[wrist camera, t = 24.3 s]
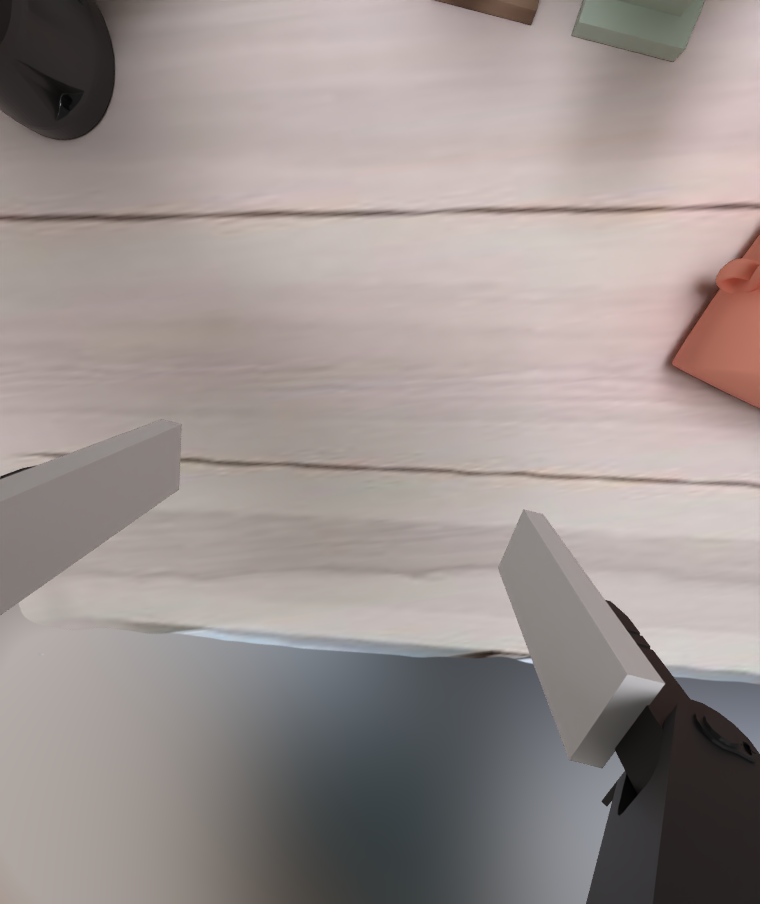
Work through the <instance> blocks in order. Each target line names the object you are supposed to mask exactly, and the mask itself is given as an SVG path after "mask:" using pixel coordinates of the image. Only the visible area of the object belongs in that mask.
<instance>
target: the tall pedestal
mask: <svg viewBox="0 0 760 904" xmlns="http://www.w3.org/2000/svg"><path fill="white" fill-rule="evenodd" d="M437 1H441V2H444V3H448V4H452V5H456V6H460V7H464V8H468V9H471V10H475V11H479V12H483V13H487V14H491V15H495V16H498V17H502V18H506V19H510V20H514V21H518V22H522V23H525V24H529V25H531V24H532V21H533V18H534V16H535V13H536V10H537V7H538V3H539V0H437Z"/></svg>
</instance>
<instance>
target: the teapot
mask: <svg viewBox="0 0 760 904" xmlns="http://www.w3.org/2000/svg"><path fill="white" fill-rule="evenodd" d="M716 284H717V286H718V287H719V288H720V289H719V291H718V292H717V293H716V295H715V296H714V298H713V299H712V301H711V302H710V304H709V305H708V307H707V308H706V310H705V311H704V313H703V314H702V316H701V317H700V319H699V320H698V322H697V323H696V325H695V326H694V328H693V329H692V331H691V332H690V334H689V335H688V337H687V338H686V340H685V342H684V343H683V345H682V346H681V348H680V349H679V351H678V353H677V354H676V356H675V358H674V360H673V362H672V365H674V366H675V367H677V368H679V369H681V370H683V371H684V372H686V373H688V374H690V375H692V376H694V377H696V378H698V379H700V380H702V381H704V382H706V383H708V384H710V385H712V386H714V387H716V388H718V389H720V390H722V391H724V392H726V393H728V394H730V395H732V396H735V397H737V398H739V399H741V400H743V401H745V402H747V403H749V404H751V405H753V406H756V407H758V408H760V235H759V236H758V237H757V239H756V240H755V241H754V243H753V244H752V245H751V247H750V248H749V249H748V251H747V252H746V253H745V255H744V256H743V257H742V259H735V260H732V261H730V262H729V263H727V264H726V265H725V266H724V267H723V268H722V269H721V270H720V271H719V273H718V275H717V278H716Z"/></svg>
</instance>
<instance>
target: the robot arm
mask: <svg viewBox="0 0 760 904" xmlns="http://www.w3.org/2000/svg"><path fill="white" fill-rule="evenodd" d="M113 80H114V60H113V51H112V46H111V41H110V37H109V33H108V30H107V27H106V24H105V22H104V19H103V17H102V15H101V13H100V10H99V8H98V7H97V5H96V3H95V1H94V0H0V110H2V111H3V112H4V113H6V114H7V115H8V116H10V117H11V118H13V119H14V120H16V121H17V122H19V123H21V124H23V125H24V126H26V127H28V128H30V129H32V130H33V131H35V132H37V133H39V134H41V135H44V136H46V137H50V138H54V139H71V138H75V137H78V136H81V135H83V134H85V133H86V132H88V131H89V130H91V129H92V128H93V127H94V126H95V125H96V124H97V123H98V121H99V120H100V119H101V117H102V116H103V114H104V112H105V110H106V108H107V106H108V103H109V100H110V97H111V93H112V88H113ZM181 426H182V424H178V423H174V422H170V421H166V420H162V419H161V420H158V421H156V422H153V423H150V424H148V425H145V426H142V427H140V428H137V429H134V430H132V431H129V432H126V433H123V434H121V435H118V436H115V437H113V438H110V439H107V440H105V441H102V442H99V443H97V444H94V445H91V446H89V447H86V448H83V449H80V450H78V451H75V452H72V453H70V454H67V455H64V456H62V457H59V458H56V459H54V460H51V461H48V462H46V463H43V464H40V465H37V466H32V467H27V468H22V469H19V470H17V471H14V472H11V473H8V474H6V475H3V476H0V615H2V614H3V613H4V612H6V611H7V610H9V609H10V608H11V607H13V606H14V605H15V604H17V603H19V602H20V601H21V600H23V599H24V598H26V597H27V596H28V595H30V594H31V593H33V592H34V591H36V590H37V589H38V588H40V587H41V586H43V585H44V584H45V583H47V582H48V581H50V580H51V579H53V578H54V577H55V576H57V575H58V574H60V573H61V572H62V571H64V570H65V569H67V568H68V567H70V566H71V565H72V564H74V563H75V562H77V561H78V560H80V559H81V558H82V557H84V556H85V555H87V554H88V553H89V552H91V551H92V550H94V549H95V548H97V547H98V546H99V545H101V544H102V543H104V542H105V541H106V540H108V539H109V538H111V537H112V536H114V535H115V534H116V533H118V532H119V531H121V530H122V529H123V528H125V527H126V526H128V525H129V524H131V523H132V522H133V521H135V520H136V519H138V518H139V517H140V516H142V515H143V514H145V513H146V512H148V511H149V510H150V509H152V508H153V507H155V506H156V505H158V504H159V503H160V502H162V501H163V500H165V499H166V498H167V497H169V496H170V495H172V494H173V493H175V492H176V491H177V490H179V479H180V453H181ZM498 569H499V572H500V575H501V577H502V580H503V583H504V586H505V588H506V591H507V594H508V596H509V599H510V602H511V604H512V607H513V610H514V612H515V615H516V618H517V621H518V623H519V626H520V629H521V631H522V634H523V637H524V639H525V642H526V645H527V648H528V650H529V653H530V656H531V658H532V661H533V664H534V666H535V669H536V672H537V675H538V677H539V680H540V683H541V685H542V688H543V691H544V693H545V696H546V699H547V701H548V704H549V707H550V710H551V712H552V715H553V718H554V720H555V723H556V726H557V728H558V731H559V734H560V736H561V739H562V742H563V745H564V747H565V750H566V753H567V755H568V758H569V760H571V761H575V762H579V763H583V764H587V765H591V766H595V767H599V768H603V767H604V766H605V764H606V763H607V761H608V760H609V759H610V757H611V756H612V755H613V753H614V752H615V751H616V753H617V755H618V757H619V759H620V761H621V763H622V765H623V767H624V769H625V772H624V773H623V774H622V776H621V777H620V778H619V779H618V780H617V782H616V783H615V784H614V786H613V787H612V788H611V789H610V791H609V792H608V793H607V795H606V796H605V797H604V799H603V800H602V802H603V803H604V804H605V805H606V806H608V805H609V803H610V802H611V801H612V804H611V808H610V812H609V816H608V820H607V824H606V828H605V832H604V836H603V840H602V844H601V847H600V851H599V855H598V859H597V863H596V867H595V871H594V875H593V879H592V883H591V887H590V891H589V894H588V898H587V902H586V904H760V754H759V752H758V751H757V750H756V748H755V747H754V746H753V744H752V743H751V742H750V740H749V739H748V738H747V737H746V736H745V735H744V734H743V733H742V732H741V731H740V730H739V729H738V728H737V727H736V726H735V725H734V724H733V723H732V722H730V721H729V720H727V719H726V718H725V717H724V716H722V715H721V714H720V713H718V712H717V711H715V710H713V709H712V708H710V707H708V706H706V705H705V704H703V703H700V702H697V701H694V700H691V699H690V698H689V697H688V696H687V694H686V693H685V692H684V690H683V689H682V688H681V686H680V685H679V684H678V683H677V681H676V680H675V679H674V677H673V676H672V675H671V673H670V672H669V671H668V669H667V668H666V667H665V665H664V664H663V663H662V661H661V660H660V659H659V657H658V656H657V655H656V653H655V652H654V651H653V650H650V645H649V644H648V643H647V642H646V640H645V639H644V638H643V636H640V632H639V631H638V630H637V628H636V627H635V626H634V624H633V623H632V622H631V620H630V619H629V618H628V617H627V616H626V615H625V614H624V613H623V612H622V611H621V610H620V609H619V608H617V607H616V606H615V605H614V604H613V603H612V602H611V601H607V600H605V599H604V598H603V597H602V595H601V594H600V592H599V591H598V590H597V588H596V587H595V585H594V584H593V583H592V581H591V580H590V579H589V577H588V576H587V574H586V573H585V572H584V570H583V569H582V567H581V566H580V565H579V563H578V562H577V560H576V559H575V558H574V556H573V555H572V553H571V552H570V551H569V549H568V548H567V547H566V545H565V544H564V542H563V541H562V540H561V538H560V537H559V535H558V534H557V533H556V531H555V530H554V528H553V527H552V526H551V524H550V523H549V522H548V520H547V519H546V517H545V516H544V515H543V514H540V513H536V512H532V511H528V510H524V509H523V512H522V514H521V516H520V519H519V521H518V523H517V526H516V528H515V530H514V532H513V535H512V537H511V539H510V542H509V544H508V546H507V549H506V551H505V553H504V556H503V558H502V560H501V563H500V565H499V567H498Z"/></svg>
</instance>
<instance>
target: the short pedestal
mask: <svg viewBox="0 0 760 904" xmlns="http://www.w3.org/2000/svg"><path fill="white" fill-rule="evenodd" d="M704 1H705V0H583V2H582V5H581V8H580V11H579V14H578V17H577V20H576V23H575V27H574V30H573V33H572V36H576V37H579V38H583V39H587V40H591V41H595V42H599V43H603V44H606V45H610V46H614V47H618V48H622V49H626V50H630V51H633V52H637V53H641V54H645V55H649V56H653V57H657V58H661V59H664V60H668V61H672V62H674V61H675V60H676V58H677V57H678V56H679V55H680V54H681V53H682V52H683V51H684V50H685V48H686V46H687V43H688V41H689V38H690V36H691V33H692V31H693V28H694V26H695V23H696V21H697V18H698V16H699V14H700V11H701V9H702V6H703V4H704Z"/></svg>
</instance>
